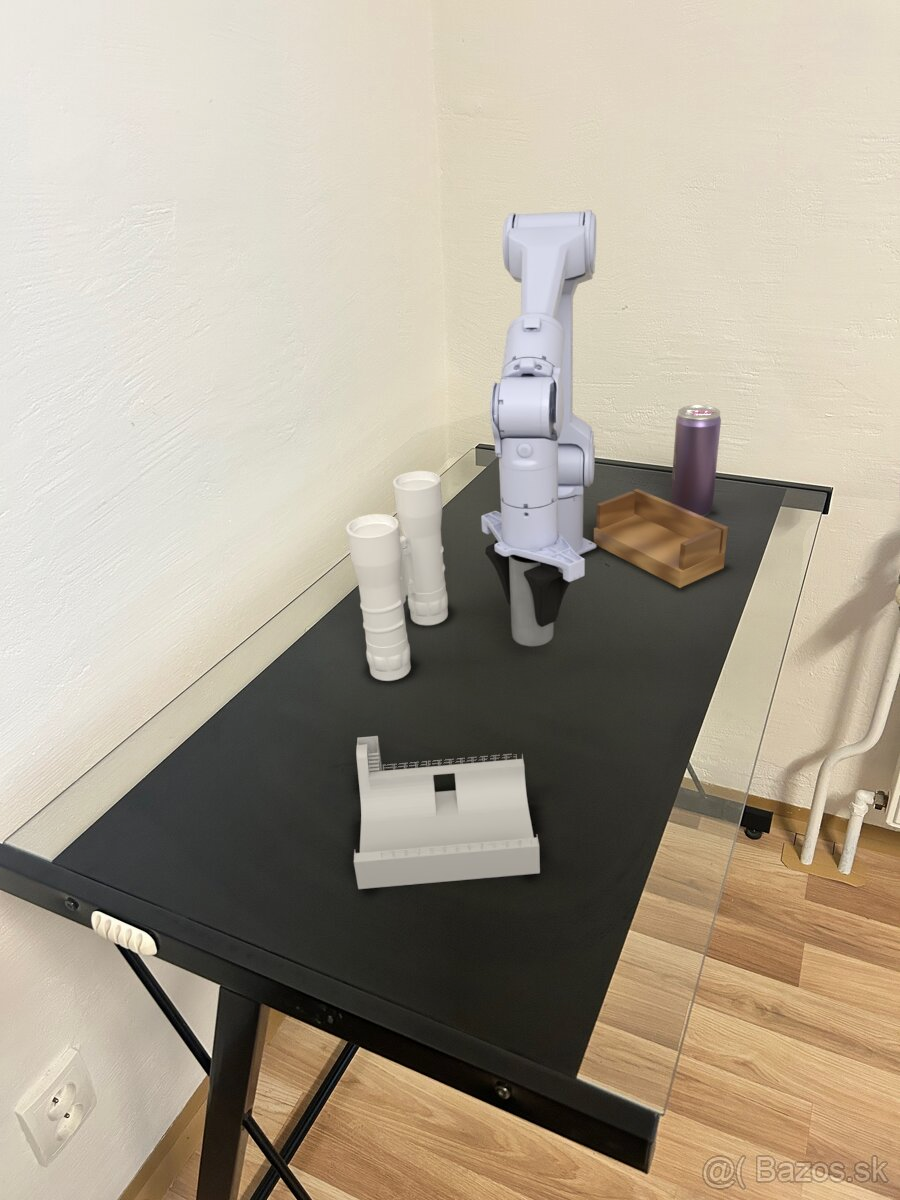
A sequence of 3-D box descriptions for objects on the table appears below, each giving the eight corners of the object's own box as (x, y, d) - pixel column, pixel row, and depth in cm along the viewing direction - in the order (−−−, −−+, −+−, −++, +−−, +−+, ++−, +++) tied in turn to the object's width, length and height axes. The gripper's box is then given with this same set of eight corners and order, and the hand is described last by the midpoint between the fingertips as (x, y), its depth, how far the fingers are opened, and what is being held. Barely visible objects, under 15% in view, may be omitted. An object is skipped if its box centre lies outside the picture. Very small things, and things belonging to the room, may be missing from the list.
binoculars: (417, 601, 112) (404, 468, 102) (457, 606, 110) (447, 472, 100) (358, 678, 98) (336, 534, 89) (403, 686, 96) (385, 539, 87)
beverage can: (713, 520, 125) (722, 419, 118) (670, 519, 127) (677, 418, 119) (711, 502, 130) (720, 404, 123) (669, 501, 132) (676, 404, 124)
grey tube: (525, 651, 93) (523, 566, 88) (504, 632, 97) (500, 549, 92) (561, 638, 95) (561, 554, 90) (538, 619, 98) (537, 537, 93)
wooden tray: (593, 543, 122) (594, 504, 119) (635, 526, 125) (637, 488, 122) (679, 588, 110) (683, 546, 107) (723, 568, 114) (728, 527, 111)
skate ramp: (358, 889, 72) (350, 845, 70) (363, 778, 84) (357, 737, 81) (539, 873, 73) (538, 828, 70) (520, 765, 84) (519, 723, 81)
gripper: (455, 485, 91) (462, 598, 98) (544, 533, 80) (545, 656, 87) (509, 467, 94) (513, 577, 101) (602, 511, 83) (599, 631, 90)
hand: (531, 612), depth 94 cm, fingers closed on grey tube, 4 cm apart
